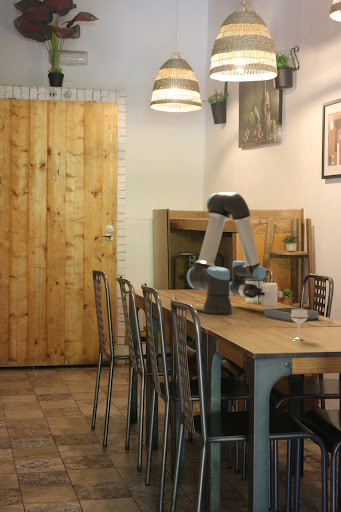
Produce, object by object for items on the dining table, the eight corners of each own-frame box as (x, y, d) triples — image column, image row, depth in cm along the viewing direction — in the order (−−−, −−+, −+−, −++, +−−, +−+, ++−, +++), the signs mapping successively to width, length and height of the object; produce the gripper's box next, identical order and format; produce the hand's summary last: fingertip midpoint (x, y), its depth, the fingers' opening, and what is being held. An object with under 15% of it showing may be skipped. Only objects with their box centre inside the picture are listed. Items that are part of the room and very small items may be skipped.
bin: (288, 321, 341) (288, 313, 341) (263, 316, 357) (263, 308, 357) (318, 319, 351) (318, 311, 350) (292, 314, 367) (293, 307, 367)
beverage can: (276, 307, 367) (277, 284, 367) (260, 306, 369) (261, 283, 368) (277, 306, 375) (278, 283, 375) (261, 305, 377) (262, 282, 376)
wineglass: (304, 338, 291) (305, 309, 290) (308, 341, 284) (309, 311, 284) (288, 338, 291) (289, 309, 290) (291, 341, 284) (292, 311, 283)
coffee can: (245, 301, 428) (245, 277, 427) (262, 301, 427) (263, 278, 426) (245, 303, 418) (245, 279, 417) (262, 303, 417) (263, 279, 416)
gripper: (263, 297, 393) (290, 301, 373) (233, 297, 382) (259, 302, 363) (264, 283, 392) (291, 287, 373) (233, 283, 382) (260, 287, 362)
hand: (275, 294), depth 368 cm, fingers closed on beverage can, 8 cm apart
